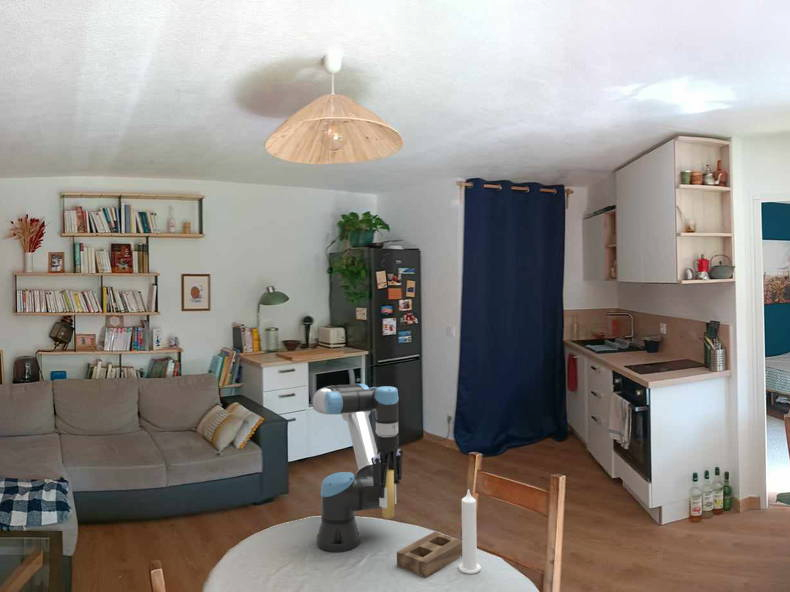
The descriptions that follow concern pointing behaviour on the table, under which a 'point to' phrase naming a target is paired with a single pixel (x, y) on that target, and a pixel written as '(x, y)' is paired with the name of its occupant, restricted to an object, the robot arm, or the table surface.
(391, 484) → the peg
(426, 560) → the socket block
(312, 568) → the table surface
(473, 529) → the candle
